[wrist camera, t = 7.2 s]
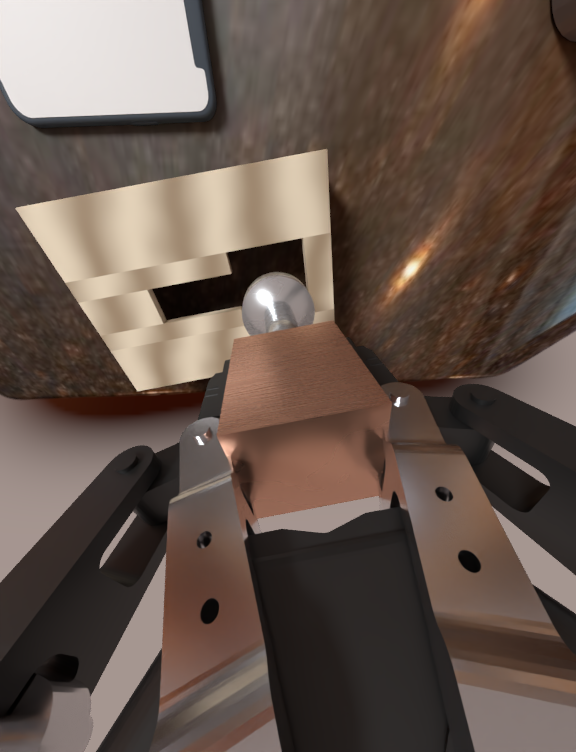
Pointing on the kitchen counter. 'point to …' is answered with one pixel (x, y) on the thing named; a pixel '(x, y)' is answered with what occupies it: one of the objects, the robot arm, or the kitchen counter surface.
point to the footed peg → (299, 406)
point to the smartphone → (106, 62)
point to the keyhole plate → (183, 256)
